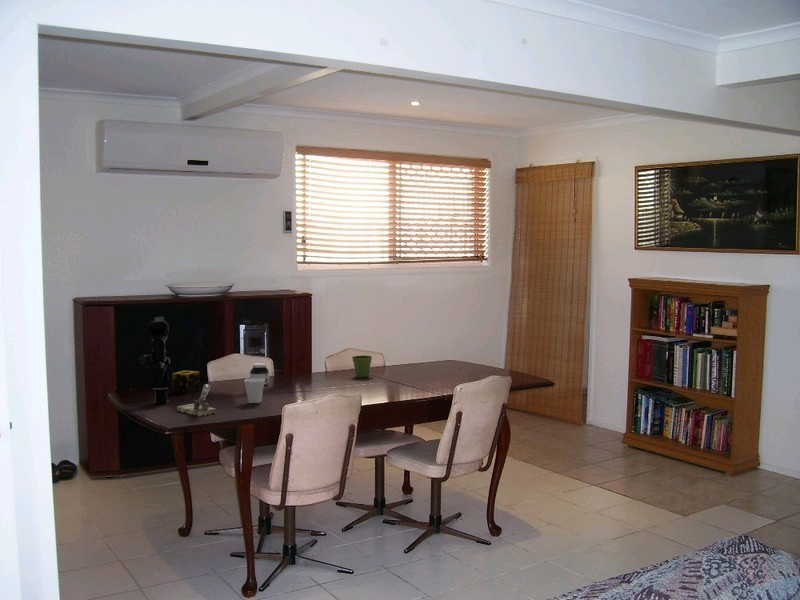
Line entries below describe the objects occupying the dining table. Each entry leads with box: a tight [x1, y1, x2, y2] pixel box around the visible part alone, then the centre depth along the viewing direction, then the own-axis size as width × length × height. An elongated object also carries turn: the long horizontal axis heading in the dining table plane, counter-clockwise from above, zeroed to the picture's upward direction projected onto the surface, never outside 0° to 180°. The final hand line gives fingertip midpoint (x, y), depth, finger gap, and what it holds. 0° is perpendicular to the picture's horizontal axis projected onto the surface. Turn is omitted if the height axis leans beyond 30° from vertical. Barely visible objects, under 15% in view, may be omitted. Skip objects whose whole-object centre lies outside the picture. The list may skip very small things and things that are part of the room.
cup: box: [243, 378, 265, 404], centre depth 387 cm, size 10×10×11 cm
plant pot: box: [351, 355, 373, 379], centre depth 456 cm, size 12×12×11 cm
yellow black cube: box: [171, 370, 201, 394], centre depth 416 cm, size 10×10×10 cm
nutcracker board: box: [176, 398, 217, 417], centre depth 367 cm, size 18×9×6 cm, turn 48°
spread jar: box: [249, 362, 270, 387], centre depth 432 cm, size 12×11×12 cm
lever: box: [198, 383, 211, 406], centre depth 362 cm, size 3×3×11 cm
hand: (159, 381), depth 372 cm, fingers closed
